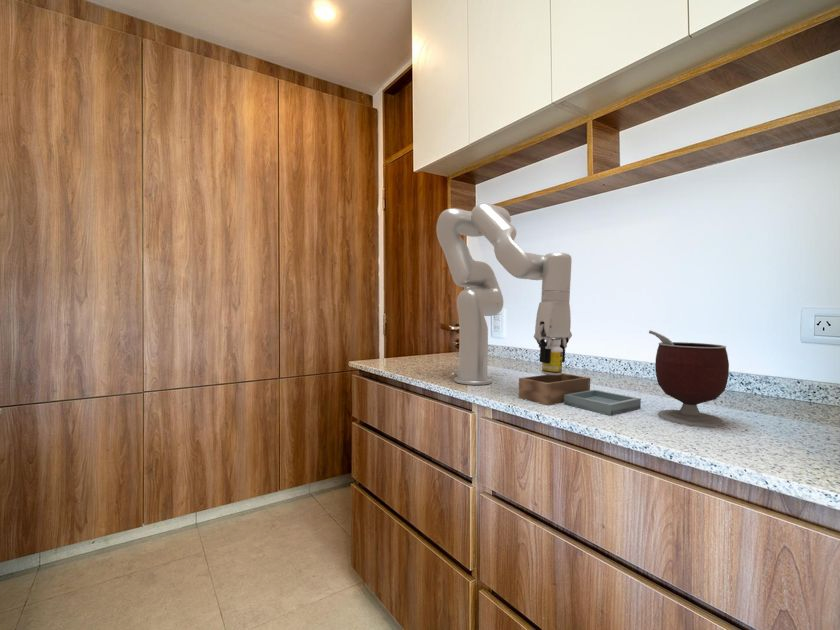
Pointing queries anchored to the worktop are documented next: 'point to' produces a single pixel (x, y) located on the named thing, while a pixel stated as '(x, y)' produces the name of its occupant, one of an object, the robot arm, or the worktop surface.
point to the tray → (602, 402)
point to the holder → (551, 387)
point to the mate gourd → (691, 378)
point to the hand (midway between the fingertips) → (552, 361)
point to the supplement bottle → (554, 359)
